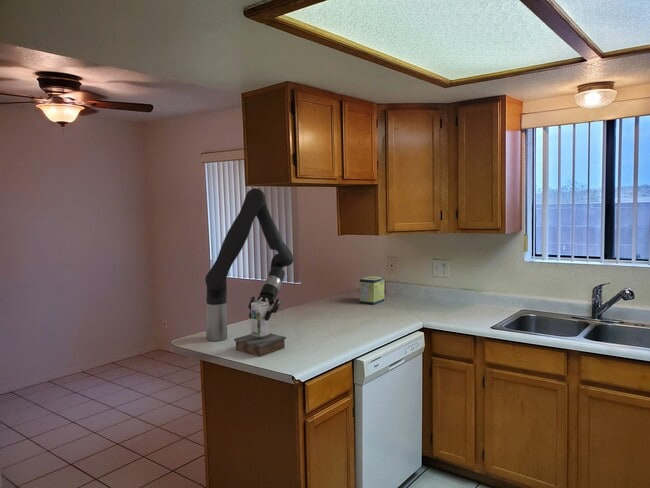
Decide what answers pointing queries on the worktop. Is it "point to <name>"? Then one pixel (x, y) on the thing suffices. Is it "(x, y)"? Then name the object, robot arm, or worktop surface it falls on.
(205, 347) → the worktop surface
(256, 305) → the syrup box
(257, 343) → the podium
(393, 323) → the worktop surface
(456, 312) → the worktop surface
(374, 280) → the protein box
